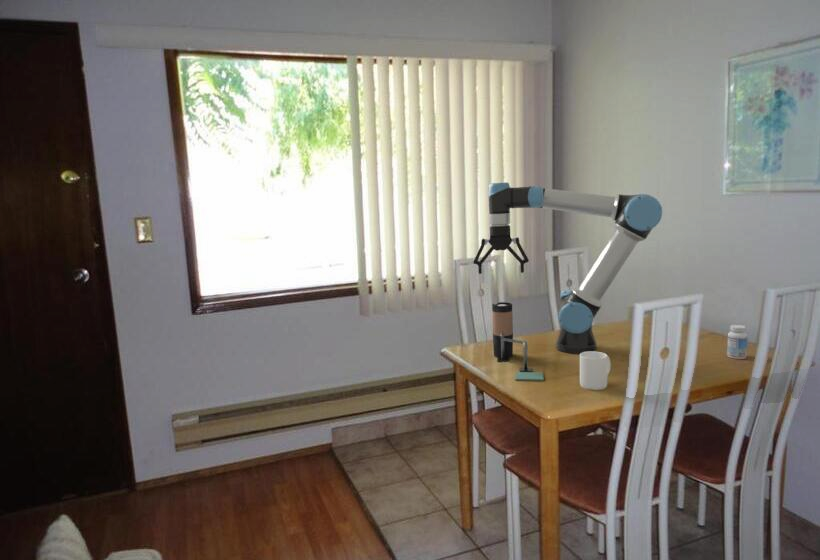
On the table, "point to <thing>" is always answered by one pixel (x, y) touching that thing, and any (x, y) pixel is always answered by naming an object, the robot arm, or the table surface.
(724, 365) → the table surface
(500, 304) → the travel mug
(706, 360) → the table surface
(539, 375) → the coaster
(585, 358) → the cup
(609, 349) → the table surface
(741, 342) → the pill bottle
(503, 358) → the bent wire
